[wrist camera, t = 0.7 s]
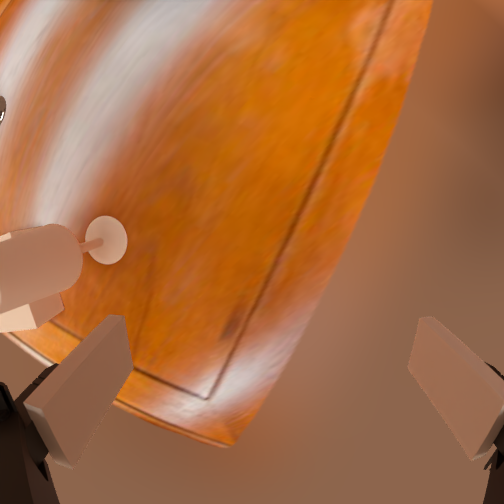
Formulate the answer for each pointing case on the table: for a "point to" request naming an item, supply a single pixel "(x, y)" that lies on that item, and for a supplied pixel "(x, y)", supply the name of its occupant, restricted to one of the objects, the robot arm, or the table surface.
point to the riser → (30, 306)
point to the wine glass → (2, 108)
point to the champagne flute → (53, 259)
